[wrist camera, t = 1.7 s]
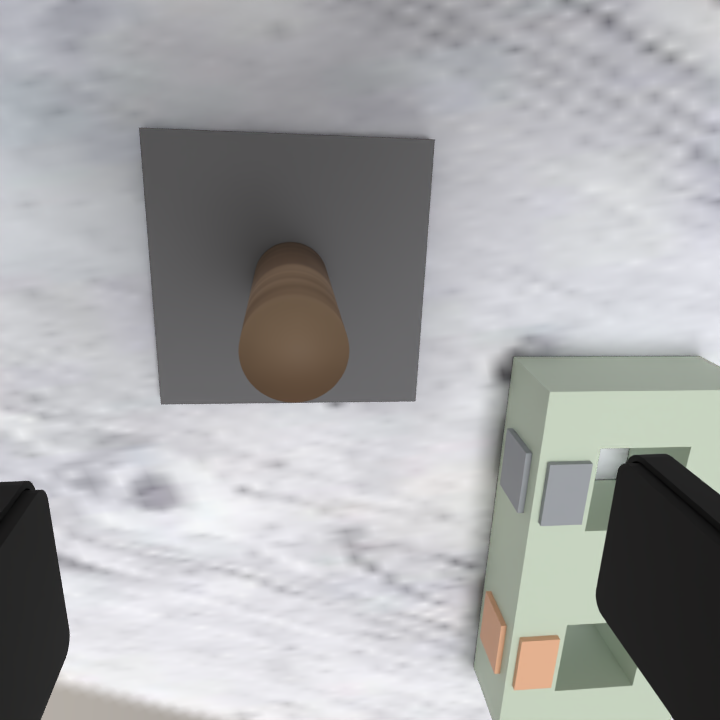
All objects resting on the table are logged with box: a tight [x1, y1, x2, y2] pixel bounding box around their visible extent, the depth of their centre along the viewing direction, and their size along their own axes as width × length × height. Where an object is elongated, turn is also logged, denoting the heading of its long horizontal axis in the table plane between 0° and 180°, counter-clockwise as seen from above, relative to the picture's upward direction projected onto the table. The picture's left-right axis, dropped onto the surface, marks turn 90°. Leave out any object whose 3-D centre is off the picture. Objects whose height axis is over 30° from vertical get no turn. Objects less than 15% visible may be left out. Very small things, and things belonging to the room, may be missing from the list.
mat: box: [139, 128, 435, 404], centre depth 28 cm, size 12×12×1 cm
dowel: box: [238, 242, 349, 403], centre depth 22 cm, size 3×3×10 cm
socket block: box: [474, 356, 720, 720], centre depth 32 cm, size 20×10×5 cm, turn 178°
